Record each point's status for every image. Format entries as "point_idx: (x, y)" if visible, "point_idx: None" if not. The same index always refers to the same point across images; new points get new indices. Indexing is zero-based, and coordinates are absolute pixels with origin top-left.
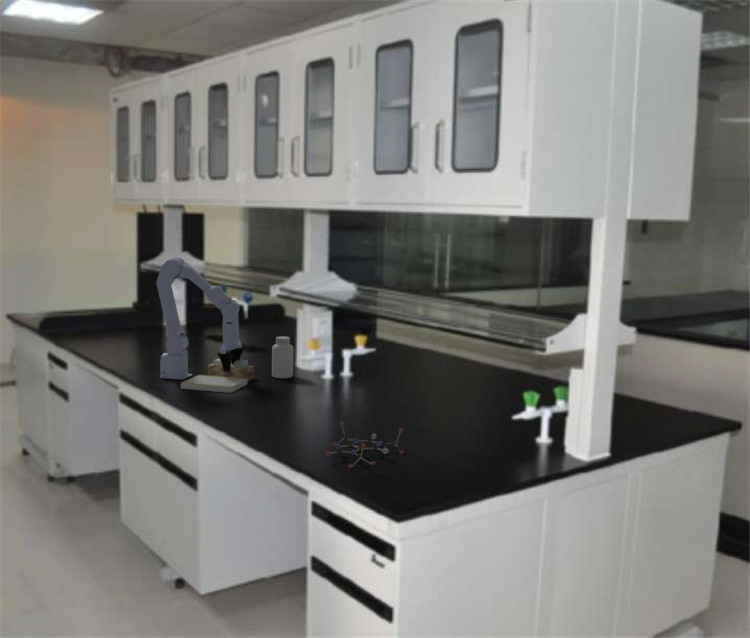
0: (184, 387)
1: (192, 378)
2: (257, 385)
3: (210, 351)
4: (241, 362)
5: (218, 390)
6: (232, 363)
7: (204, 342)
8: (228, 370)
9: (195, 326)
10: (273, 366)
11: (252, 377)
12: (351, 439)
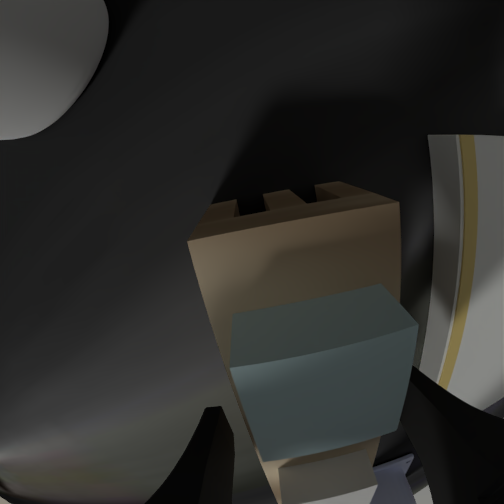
0: None
1: (482, 406)
2: (418, 46)
3: (39, 492)
4: (413, 354)
5: None
6: (231, 461)
7: (22, 495)
8: (418, 372)
9: (3, 497)
10: (39, 46)
11: (235, 201)
12: None
